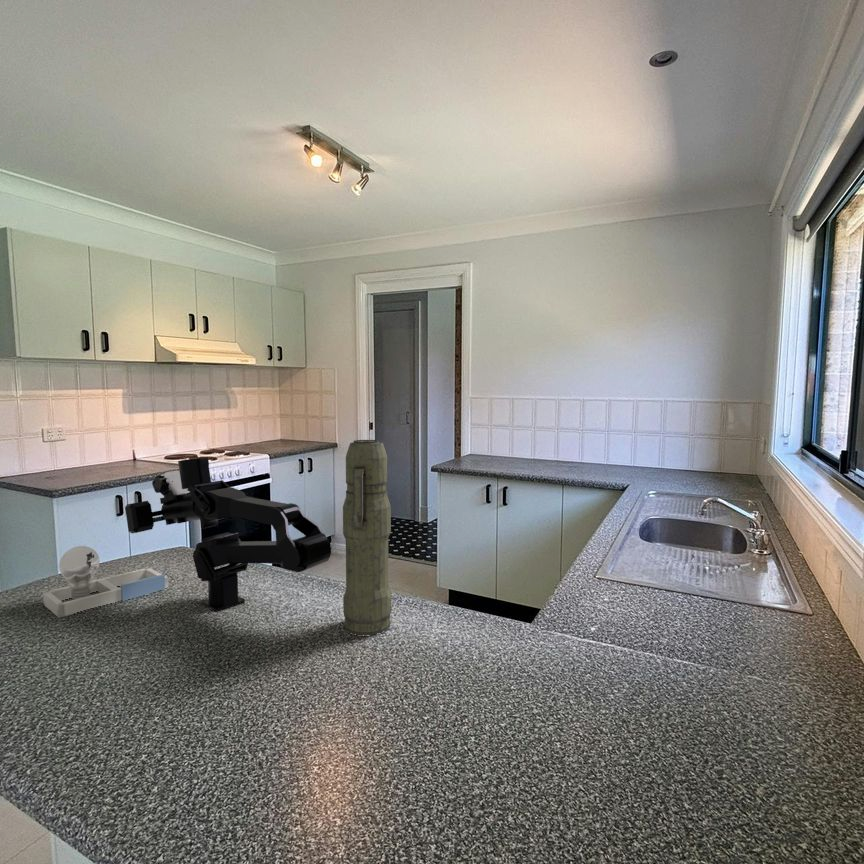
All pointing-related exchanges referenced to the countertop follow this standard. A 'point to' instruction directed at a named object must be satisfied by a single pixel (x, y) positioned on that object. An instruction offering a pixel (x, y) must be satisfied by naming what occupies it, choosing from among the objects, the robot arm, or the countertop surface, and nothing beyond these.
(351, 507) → the thermos
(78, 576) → the light bulb
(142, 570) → the white tray
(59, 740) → the countertop surface
